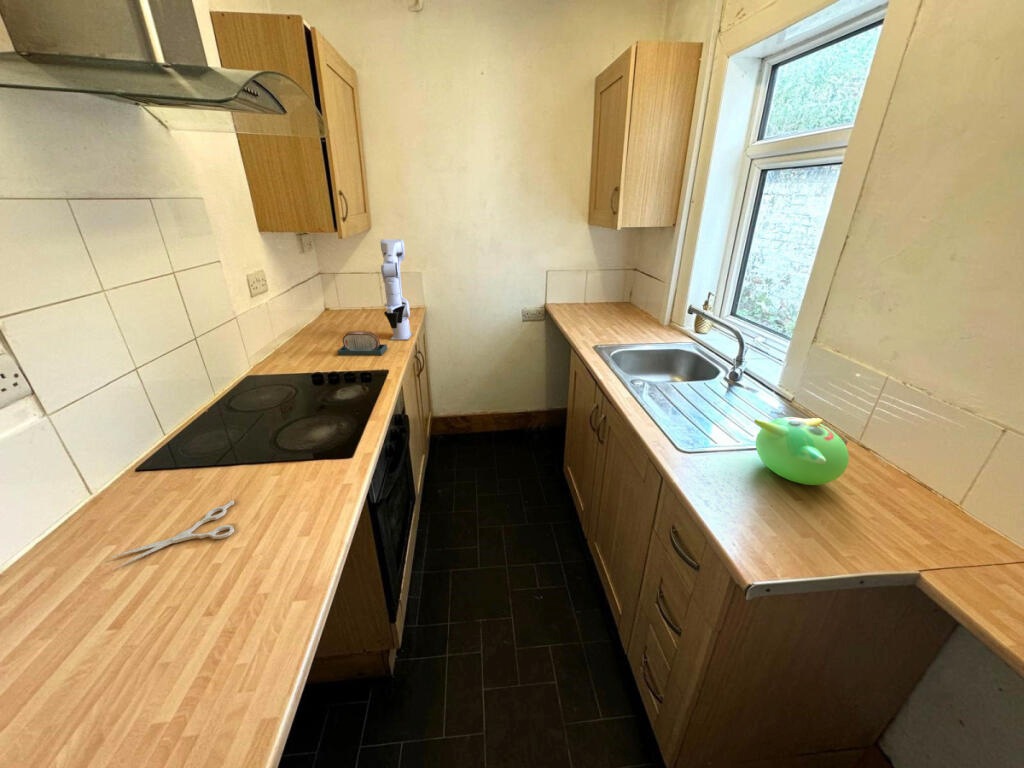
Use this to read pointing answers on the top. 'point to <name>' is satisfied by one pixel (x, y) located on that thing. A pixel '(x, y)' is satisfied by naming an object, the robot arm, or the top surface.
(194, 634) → the top surface
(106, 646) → the top surface
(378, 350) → the tray
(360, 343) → the tin
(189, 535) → the scissors
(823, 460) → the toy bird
